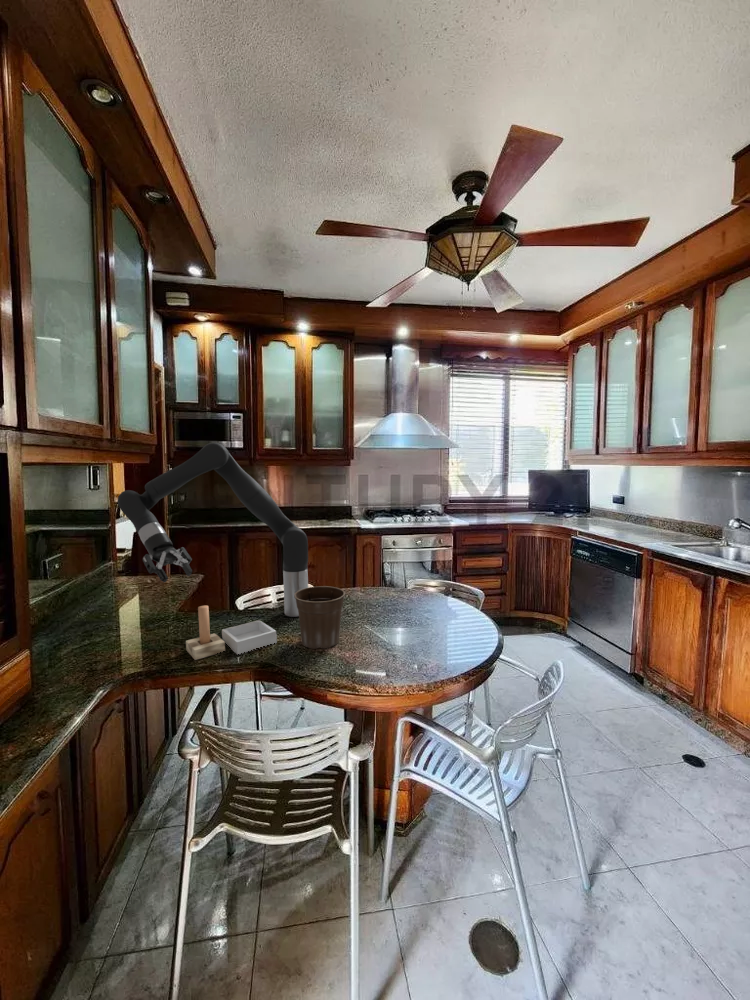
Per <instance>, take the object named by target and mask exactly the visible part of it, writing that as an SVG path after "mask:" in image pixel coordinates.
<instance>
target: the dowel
mask: <svg viewBox="0 0 750 1000" xmlns="http://www.w3.org/2000/svg"><path fill="white" fill-rule="evenodd" d="M209 609H210V608H209V605H200V606H198V607H197V611H198V612H197V615H198V628H199V637H200V645H203V644H207V643H210V634H211V633H210V632H211V630H210V629H211V628H210V611H209Z"/></svg>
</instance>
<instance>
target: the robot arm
mask: <svg viewBox="0 0 750 1000" xmlns="http://www.w3.org/2000/svg"><path fill="white" fill-rule="evenodd" d="M213 470H214V471H215V472H216V473H217V474H218V475H219V476H220V477H222V478H223V479H224V481H226V483H227V484H228V486H229V487H230V489H231V490H232V492H233V493H234V495H235V496H236V497H237V499H238V500H239V501H240V502H241V503H242V504H243V505H244V507H246V509H247V510H248V511H249V512H250V513H251V514H252V515H254V516H255V517H256V518H257V519H258V520H259V521H261V522H262V523H264V525H266V526H268V527H269V528H270V530H271V531H272V532H273V534H275V535H276V537H277V539H279V541H280V542H281V544H282V547H283V548H282V552H283V553H282V555H283V562H282V573H283V574H282V576H283V600H284V601H283V604H284V606H283V607H284V608H283V609H284V615H285V616H287V617H292V618H293V617H299V613H298V608H297V604H296V599H295V597H294V594H295V593H296V592H297V591H299V590H301V589H305V588H309V576H308V572H309V571H308V565H309V564H308V563H309V542H308V540H309V539H308V536H307V534H306V533H305V532H304V530H302V528H300V527H299V526H297V525H296V524H295V523H294V522H293V521H291V520H290V519H289V518H288V517H287V516H286V515H285V514H284V513H283V511H282V510H281V509H280V507H279V505H278V504H277V502H276V501H275V500H274V499H273V497H272V496H271V495H270V494H269V493H268V492H267V490H266V489H264V488H263V487H262V485H260V484H259V483H258V482H257V481H256V479H255V478H253V476H251V475H250V474H248V473H247V472H246V471H245V470H244V468H242V467H241V466H240V465H239V464H238V462H237V461H236V460H235V459H234V457H233V456H232V455H231V453H230V451H229V450H228V449H227V447H226V446H225V445H223V444H222V443H220V442H209V443H207V444H205V445H204V446H203V447H201V449H200V450H199V451H197V452H196V453H195V454H194V455H193V456H192V457H190V458H188V459H187V460H186V461H184V462H182V463H181V464H179V465H177V466H175V467H174V468H171V469H169V470H167V471H165V472H163V473H162V474H160V475H158V476H157V477H155V478H153V479H152V480H150V481H148V482H147V483H145V485H144V490H145V491H144V492H143V493H142V494H139V493H138V492H137V491H134V490H130V489H127V490H126V489H125V490H124V491H122V492H120V494H119V495H118V497H117V505H118V507H119V509H120V511H121V512H122V513H123V514H124V515H125V517H126V518H127V519H128V520H129V521H130V522H131V524H132V525H133V527H134V529H135V531H136V532H137V534H138V536H139V538H140V541H141V542H142V544H143V546H144V547H145V549H146V550H147V552H148V553H145V555H144V556H143V557H142V562H143V564H144V567H145V568H146V571H147V572H148V573H149V574H152V573H154V574H156V575H157V577H158V578H159V580H160V581H161V582H163V583H166V582H167V581H168V580H169V577H168V575H167V573H166V571H165V570H164V569H163V566H167V565H172V564H173V565H176V566H180V567H181V568H182V570H183V571H184V573H185V575H186V576H187V577H190V576H191V575H192V573H193V569H192V568H191V566H190V563H191V562H192V561H193V558H192V557H191V555H190V554H189V553H188V551H187V549H186V548H185V547H183V546H182V547H180V548H178V549H176V548H175V547H174V545H173V542H172V541H171V539H170V537H169V535H168V534H167V532H166V531H165V529H164V528H163V526H162V525H161V524H160V523H159V521H158V519H157V517H156V516H155V515H154V513H152V512H151V511H150V510H151V509H153V508H154V506H155V505H156V504H158V502H159V501H160V500H161V499H163V498H165V497H168V496H169V495H170V494H172V493H174V492H175V491H177V490H178V489H180V488H181V487H183V486H185V485H186V484H187V483H189V482H190V481H192V480H193V479H195V478H197V477H199V476H201V475H203V474H205V473H208V472H211V471H213ZM153 561H154V562H156V565H155V564H154V562H153Z"/></svg>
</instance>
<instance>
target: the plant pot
mask: <svg viewBox="0 0 750 1000" xmlns="http://www.w3.org/2000/svg"><path fill="white" fill-rule="evenodd" d="M308 587H309V586H308ZM345 596H346V592H345V590H343V589H342V588H339V587H336V586H335V587H334V586H327V585H323V586H322V585H321V586H319V585H318V586H310V587H309V588H305V589H301V590H299V591H297V592H296V593H295V594H294V597H295V599H296V604H297V608H298V613H299V616H298V620H299V628H300V637H301V638H300V640H301V645H303V646H304V647H306V648H309V649H313V650H316V649H318V648H321V649H323V650H324V649H329V648H332V647H334V646H336V645H338V644H339V642H340V631H341V621H342V608H343V606H344V597H345Z"/></svg>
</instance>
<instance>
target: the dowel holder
mask: <svg viewBox="0 0 750 1000" xmlns="http://www.w3.org/2000/svg"><path fill="white" fill-rule="evenodd" d="M185 651H187V653H188V654H189V655H190V656H191V657H192V659H194V661H197V660H200V659H203V658H208V657H210V656H214V655H217V653H218V654H220V652H221V653H224V652H223V651H225V652H226V644H225V642H224V641H223V640H222V638H221V637H220V636H219V635H218V634H216V633H210V643H207V644H203V645H200V636H199V637H195V638H190V639H188V640H185Z"/></svg>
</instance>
